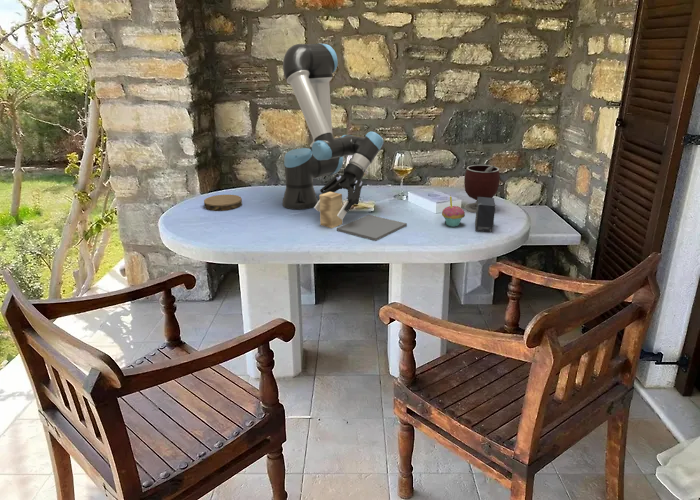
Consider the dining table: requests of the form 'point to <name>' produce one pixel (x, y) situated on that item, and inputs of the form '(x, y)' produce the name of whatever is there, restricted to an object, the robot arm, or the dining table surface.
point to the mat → (371, 227)
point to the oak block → (330, 209)
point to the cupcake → (453, 214)
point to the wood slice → (223, 202)
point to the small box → (485, 214)
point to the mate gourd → (480, 183)
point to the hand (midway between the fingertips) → (327, 213)
